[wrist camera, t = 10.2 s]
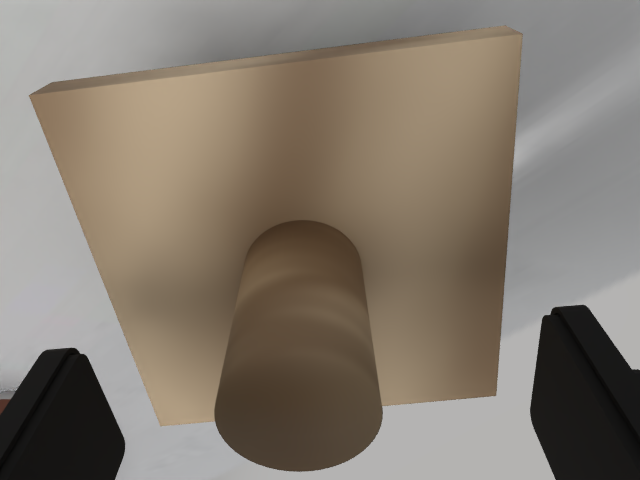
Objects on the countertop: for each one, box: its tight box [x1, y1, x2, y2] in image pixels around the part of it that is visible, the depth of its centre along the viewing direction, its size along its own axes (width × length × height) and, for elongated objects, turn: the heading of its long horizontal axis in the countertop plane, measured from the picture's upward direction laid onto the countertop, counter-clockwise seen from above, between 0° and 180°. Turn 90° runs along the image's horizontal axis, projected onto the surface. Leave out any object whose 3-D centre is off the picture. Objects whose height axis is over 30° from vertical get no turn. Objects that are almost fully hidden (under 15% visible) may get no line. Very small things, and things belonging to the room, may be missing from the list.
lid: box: [29, 26, 523, 472], centre depth 13 cm, size 11×11×6 cm
